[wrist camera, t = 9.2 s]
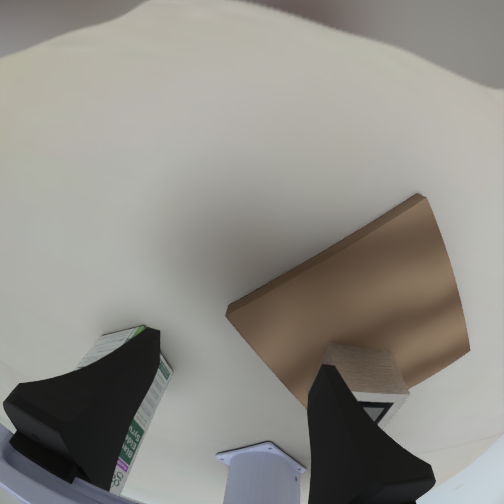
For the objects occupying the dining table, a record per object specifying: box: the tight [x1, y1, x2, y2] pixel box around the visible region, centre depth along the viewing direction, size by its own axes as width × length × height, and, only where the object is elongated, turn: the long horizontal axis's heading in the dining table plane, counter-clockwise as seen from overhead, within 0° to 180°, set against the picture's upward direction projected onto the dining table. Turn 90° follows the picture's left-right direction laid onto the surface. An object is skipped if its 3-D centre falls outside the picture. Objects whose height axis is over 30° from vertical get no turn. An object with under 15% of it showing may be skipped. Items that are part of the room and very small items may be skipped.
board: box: [225, 194, 470, 409], centre depth 21 cm, size 16×16×2 cm
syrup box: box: [74, 326, 173, 496], centre depth 18 cm, size 6×6×14 cm
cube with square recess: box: [307, 342, 410, 430], centre depth 19 cm, size 6×6×5 cm
